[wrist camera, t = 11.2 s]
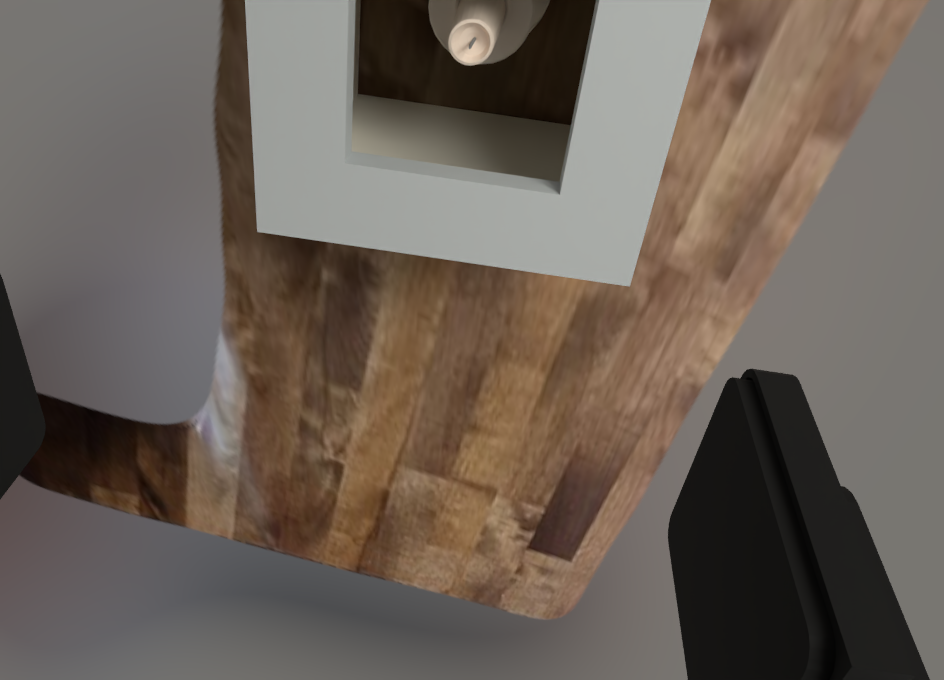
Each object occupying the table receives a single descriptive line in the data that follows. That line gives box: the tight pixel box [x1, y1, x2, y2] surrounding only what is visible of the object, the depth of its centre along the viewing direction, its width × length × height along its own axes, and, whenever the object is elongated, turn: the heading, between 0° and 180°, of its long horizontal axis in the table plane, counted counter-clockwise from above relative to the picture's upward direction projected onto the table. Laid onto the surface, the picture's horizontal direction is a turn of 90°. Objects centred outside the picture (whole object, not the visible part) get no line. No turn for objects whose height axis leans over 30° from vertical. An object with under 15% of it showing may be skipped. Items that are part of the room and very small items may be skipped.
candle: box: [428, 0, 550, 66], centre depth 28 cm, size 5×5×10 cm
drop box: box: [245, 0, 711, 286], centre depth 28 cm, size 13×13×12 cm
